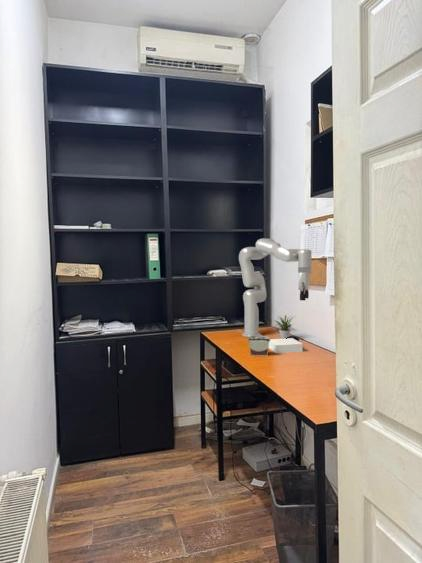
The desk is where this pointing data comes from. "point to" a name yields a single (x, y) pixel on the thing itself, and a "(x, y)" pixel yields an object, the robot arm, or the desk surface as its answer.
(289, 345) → the base block
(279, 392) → the desk surface
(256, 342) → the food container
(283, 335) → the house plant
